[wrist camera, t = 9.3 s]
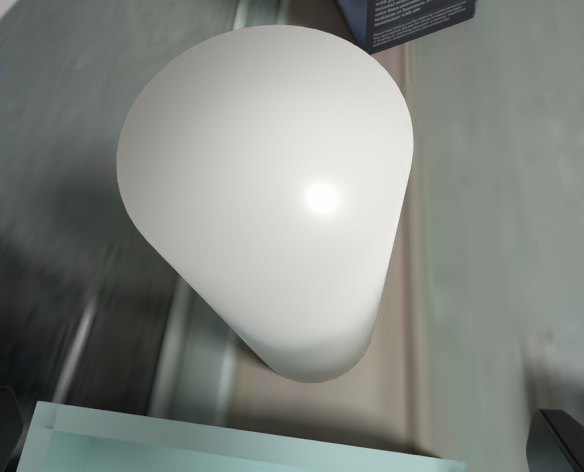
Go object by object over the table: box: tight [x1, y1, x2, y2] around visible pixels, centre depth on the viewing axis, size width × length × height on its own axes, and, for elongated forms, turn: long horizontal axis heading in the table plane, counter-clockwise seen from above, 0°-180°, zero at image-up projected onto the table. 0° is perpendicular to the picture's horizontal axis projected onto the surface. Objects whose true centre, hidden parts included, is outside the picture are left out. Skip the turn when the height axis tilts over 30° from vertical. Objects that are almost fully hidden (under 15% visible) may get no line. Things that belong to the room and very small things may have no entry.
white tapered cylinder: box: [116, 25, 413, 383], centre depth 15 cm, size 5×5×13 cm
